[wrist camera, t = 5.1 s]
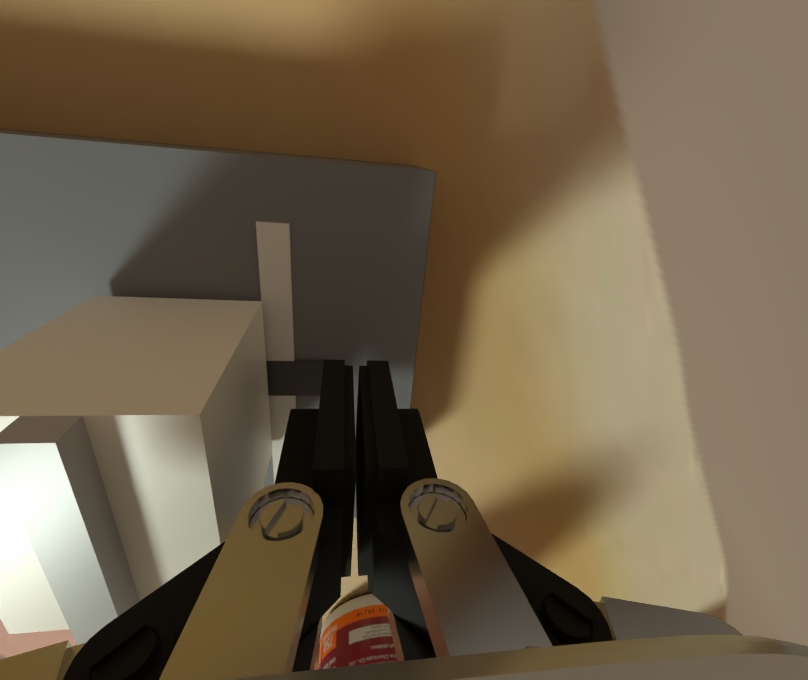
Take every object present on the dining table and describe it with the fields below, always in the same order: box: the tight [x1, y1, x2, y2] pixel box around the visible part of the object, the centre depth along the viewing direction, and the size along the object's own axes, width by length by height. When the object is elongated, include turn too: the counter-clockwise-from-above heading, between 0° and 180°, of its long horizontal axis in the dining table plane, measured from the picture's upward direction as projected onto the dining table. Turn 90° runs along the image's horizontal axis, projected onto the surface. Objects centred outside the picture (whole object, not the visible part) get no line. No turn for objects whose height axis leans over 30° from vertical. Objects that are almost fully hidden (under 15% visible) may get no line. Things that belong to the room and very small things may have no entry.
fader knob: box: [0, 296, 272, 645], centre depth 9 cm, size 4×5×6 cm
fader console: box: [0, 129, 436, 517], centre depth 12 cm, size 22×12×3 cm, turn 85°
